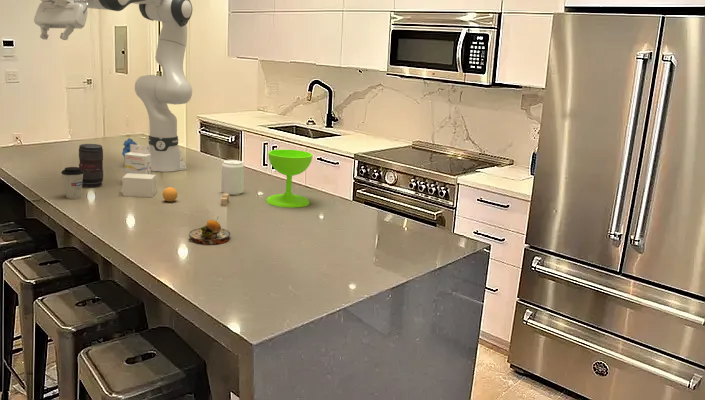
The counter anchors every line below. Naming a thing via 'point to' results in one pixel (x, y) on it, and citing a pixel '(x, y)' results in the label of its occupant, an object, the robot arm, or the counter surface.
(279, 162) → the wineglass
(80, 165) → the camera lens
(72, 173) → the coffee cup
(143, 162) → the ink cartridge box
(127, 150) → the grapes
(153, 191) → the matte white cuboid
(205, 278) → the counter surface
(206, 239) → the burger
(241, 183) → the beverage can
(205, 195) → the counter surface
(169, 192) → the ball
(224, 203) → the oak stop strip
